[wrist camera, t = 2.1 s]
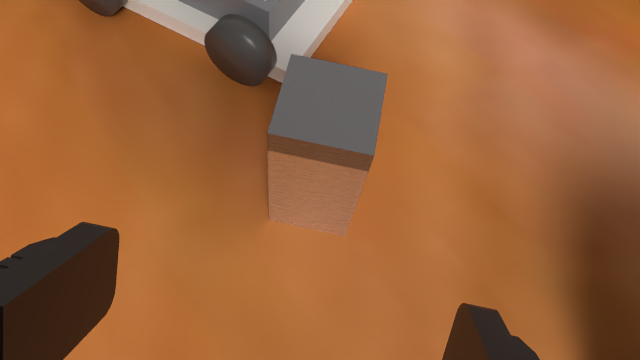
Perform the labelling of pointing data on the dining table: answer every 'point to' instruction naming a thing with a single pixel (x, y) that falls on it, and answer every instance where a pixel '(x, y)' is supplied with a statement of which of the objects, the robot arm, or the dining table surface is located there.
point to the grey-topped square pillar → (322, 142)
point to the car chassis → (242, 29)
